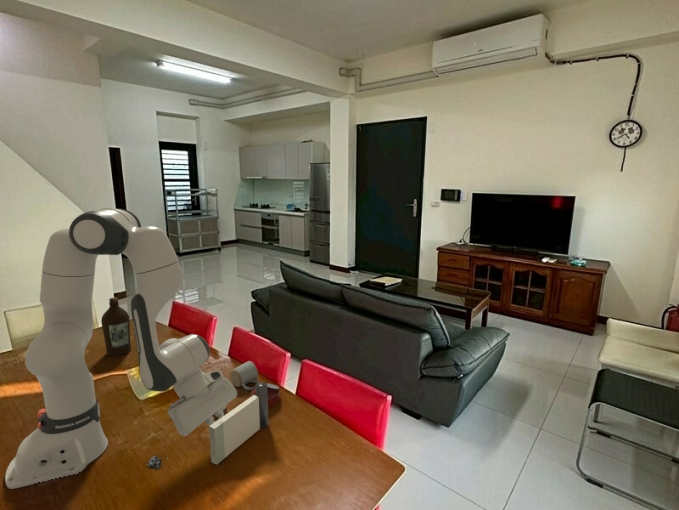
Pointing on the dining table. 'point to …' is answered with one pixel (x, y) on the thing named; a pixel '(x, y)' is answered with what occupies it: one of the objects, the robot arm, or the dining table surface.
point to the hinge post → (262, 403)
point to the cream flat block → (234, 429)
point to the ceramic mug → (244, 375)
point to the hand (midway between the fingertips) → (222, 428)
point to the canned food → (269, 393)
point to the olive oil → (116, 329)
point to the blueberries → (155, 462)
